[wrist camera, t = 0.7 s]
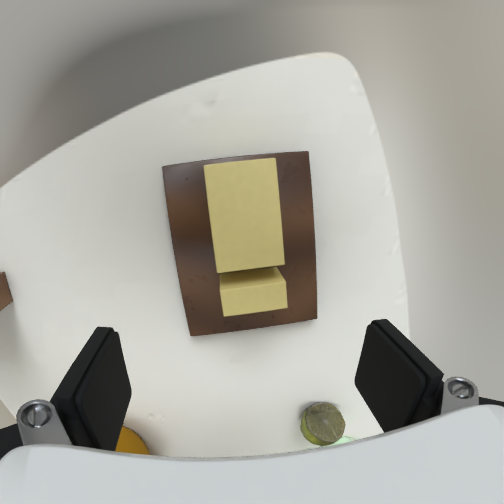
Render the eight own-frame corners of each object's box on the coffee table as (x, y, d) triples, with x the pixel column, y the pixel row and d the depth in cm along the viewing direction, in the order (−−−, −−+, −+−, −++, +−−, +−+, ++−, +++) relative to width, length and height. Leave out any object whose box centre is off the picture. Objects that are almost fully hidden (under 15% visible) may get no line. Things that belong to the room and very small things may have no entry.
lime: (293, 405, 29) (303, 438, 24) (335, 391, 29) (350, 421, 24) (300, 428, 30) (310, 459, 25) (338, 415, 30) (352, 444, 25)
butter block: (206, 166, 21) (203, 165, 18) (267, 160, 21) (275, 157, 18) (217, 258, 23) (217, 273, 19) (275, 251, 23) (285, 264, 20)
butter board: (164, 166, 21) (161, 166, 21) (305, 152, 22) (308, 151, 21) (191, 330, 25) (190, 336, 24) (314, 313, 26) (317, 318, 25)
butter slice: (219, 273, 23) (219, 290, 20) (276, 266, 23) (286, 281, 20) (222, 297, 24) (223, 316, 20) (278, 289, 24) (287, 308, 21)
